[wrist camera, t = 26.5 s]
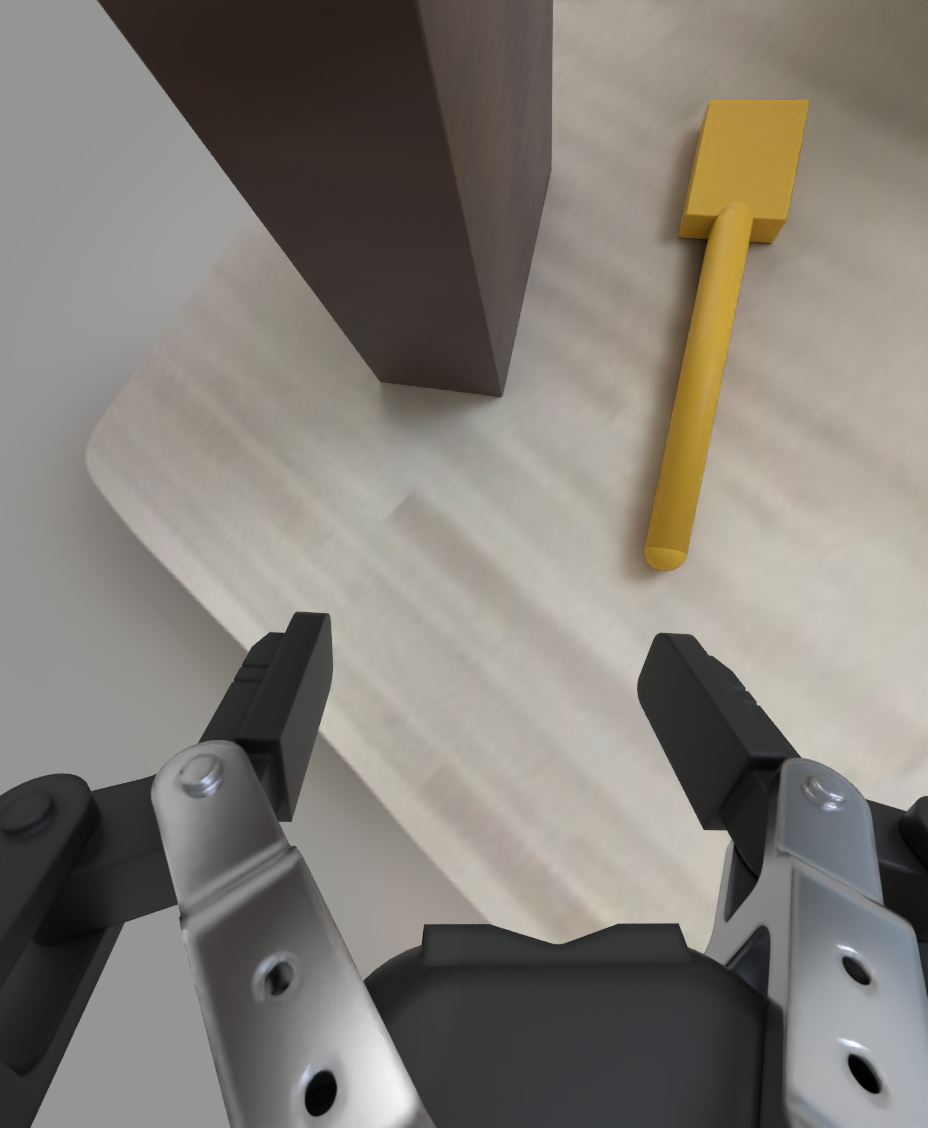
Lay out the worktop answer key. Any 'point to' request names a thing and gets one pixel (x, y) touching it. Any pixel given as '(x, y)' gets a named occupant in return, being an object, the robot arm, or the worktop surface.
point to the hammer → (720, 284)
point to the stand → (378, 157)
